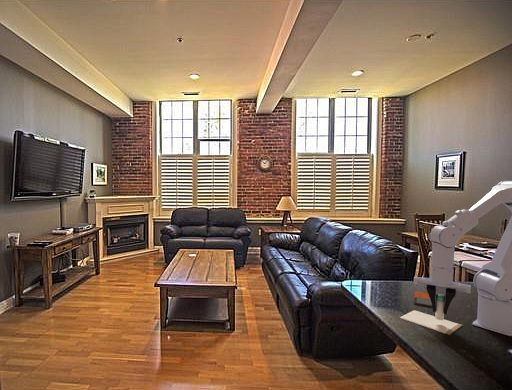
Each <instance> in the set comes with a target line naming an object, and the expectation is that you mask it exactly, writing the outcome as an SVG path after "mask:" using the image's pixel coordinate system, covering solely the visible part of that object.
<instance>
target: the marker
mask: <svg viewBox="0 0 512 390" xmlns="http://www.w3.org/2000/svg"><path fill="white" fill-rule="evenodd" d="M445 295H446V294H441V293H436V297H435V302H436V312H434V313H435V314H434V315H435V318H436V319H438V320H444V318H445V314H444V305H445Z"/></svg>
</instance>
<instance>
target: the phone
mask: <svg viewBox="0 0 512 390" xmlns="http://www.w3.org/2000/svg"><path fill="white" fill-rule="evenodd" d="M413 305H414V306H416V307H417V306H418V307H423V308H430V309H433V308H432V303H431V299H430V297H429V294H428V292H427V293H425V292H419V291H415V292H414V300H413Z"/></svg>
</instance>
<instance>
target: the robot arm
mask: <svg viewBox="0 0 512 390" xmlns="http://www.w3.org/2000/svg"><path fill="white" fill-rule="evenodd" d="M501 204H503V205H504V206H505V207H506V208H508V210H509V211H510V212H511V214H512V180H502V181H500V182H498V183H497V184H495V186H492V188H491V190H490V191H489V192H488V193H486V194H485V195H484V196H483V197H482V198H481V199H479V200H478V201H477V202H476V203H475V204H474V205H472V206H471V207H470V208H469V209H459V210H458V209H457V210H456V211H454V215H453V216H451V217H449V218H448V219H447V220H444V221H442V224H441V225H435V226H434V227H433V228H431V230H430V233H428V239H429V241H430V243H431V261H430V262H431V263H430V264H431V265H430V267H431V268H430V277H419V276H414V277H413V285H420V286H426V292H427V294H429V297H430V299H431V303H432V308H431V309H432V313H435V312H436V294H437V292H436V291H437V288H438V289H444V290H445V294H444V295H445V303H444V315H447V314H448V310H449V307H450V305H451V303H452V301H453V300H454V299H455V297H456V295H457V292H463V293H466V294H471V292H472V291H471V290H472V286H471V284H466V283H461V282H457V281H454V263H455V261H454V260H455V249H456V247H455V246H458V245H459V244H460V242H461V238H462V237H463V236H464V235H465V234H467V233H469V231H471V230H472V229H473V228H475V227H476V226H478V224H479V218H481V217H483V216H485V215H486V214H487V213H489V212H490V211H491V210H493V209H495V208H497V207H498V206H499V205H501ZM472 281H473V282H472V283H473V285H474V287H475V288H476V289H477V291H476V292H477V293H478V296H477V299H478V300H477V313H476V314H477V316H476V319H475V320H473V322H472V323H471V325H472V326H475V327H480V328H483V329H485V330H489V331H493V332H495V333H499V334H502V335H505V336H509V337H512V300H511V299H512V215H511V216H510V219H509V221H508V222H507V225H506V227H505V229H504V232H503V234H502V236H501V238H500V241H499V243H498V246H497V248H496V250H495V252H494V253H493V256H492V258H491V260H490V261H489V262H487V263H485V264H483V265H482V266H481V268H480V270H478V271H477V272H476V273H475V274H474V276H473V280H472Z"/></svg>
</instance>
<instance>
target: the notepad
mask: <svg viewBox="0 0 512 390" xmlns="http://www.w3.org/2000/svg"><path fill="white" fill-rule="evenodd" d="M399 319H401V320H403V321H407V322H410V323H413V324H416V325H419V326H420V327H421V326H422V327H425V328H428V329H430V330H434V331H437V332H439V333H442V334H446V335H448V336H450V335H452V334H453V333H454V332H456V331H458V330H459V329H460V328H462V327H463V324H460V323H457V322H453V321H450V320H447V319H444V320H438V319H436V318H435V316H434V315H433V314H432V315H431V314H428V313H425V312H421V311H419V310H415V309H414V310H411V311H409V312H408V313H406V314H404V315H402V316H399Z"/></svg>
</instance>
